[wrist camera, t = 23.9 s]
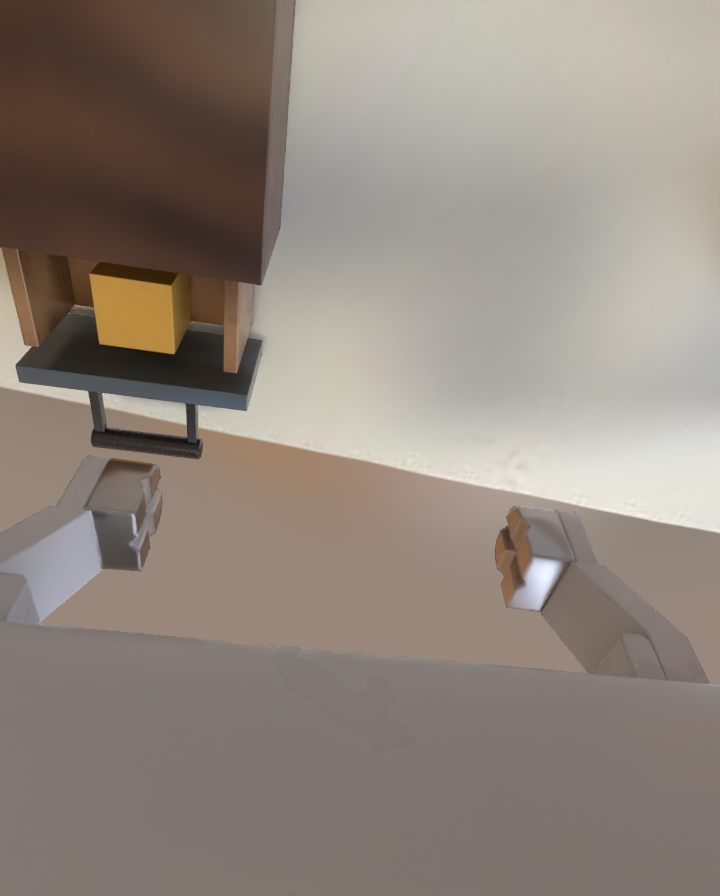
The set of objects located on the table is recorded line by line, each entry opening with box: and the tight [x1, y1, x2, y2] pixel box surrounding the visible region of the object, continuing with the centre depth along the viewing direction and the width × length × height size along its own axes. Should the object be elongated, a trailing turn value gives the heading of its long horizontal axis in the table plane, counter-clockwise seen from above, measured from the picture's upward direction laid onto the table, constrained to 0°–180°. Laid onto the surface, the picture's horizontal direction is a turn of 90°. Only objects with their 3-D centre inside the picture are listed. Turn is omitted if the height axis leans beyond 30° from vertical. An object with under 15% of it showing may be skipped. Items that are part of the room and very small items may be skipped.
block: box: [89, 262, 191, 354], centre depth 35 cm, size 4×4×4 cm
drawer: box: [2, 247, 263, 459], centre depth 35 cm, size 20×13×7 cm
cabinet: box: [0, 0, 296, 285], centre depth 27 cm, size 16×15×9 cm
